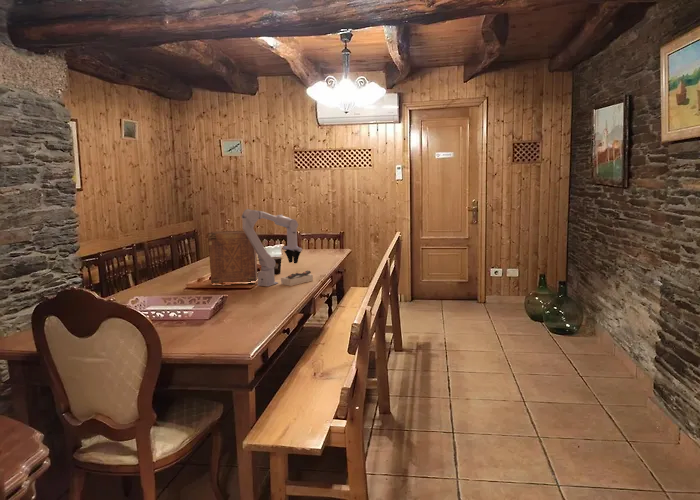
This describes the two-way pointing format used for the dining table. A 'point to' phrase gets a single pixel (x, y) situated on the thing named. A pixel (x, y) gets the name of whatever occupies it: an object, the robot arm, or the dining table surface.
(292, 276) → the rocker inner
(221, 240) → the carved wooden box
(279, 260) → the coffee mug
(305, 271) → the rocker outer
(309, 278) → the power strip
